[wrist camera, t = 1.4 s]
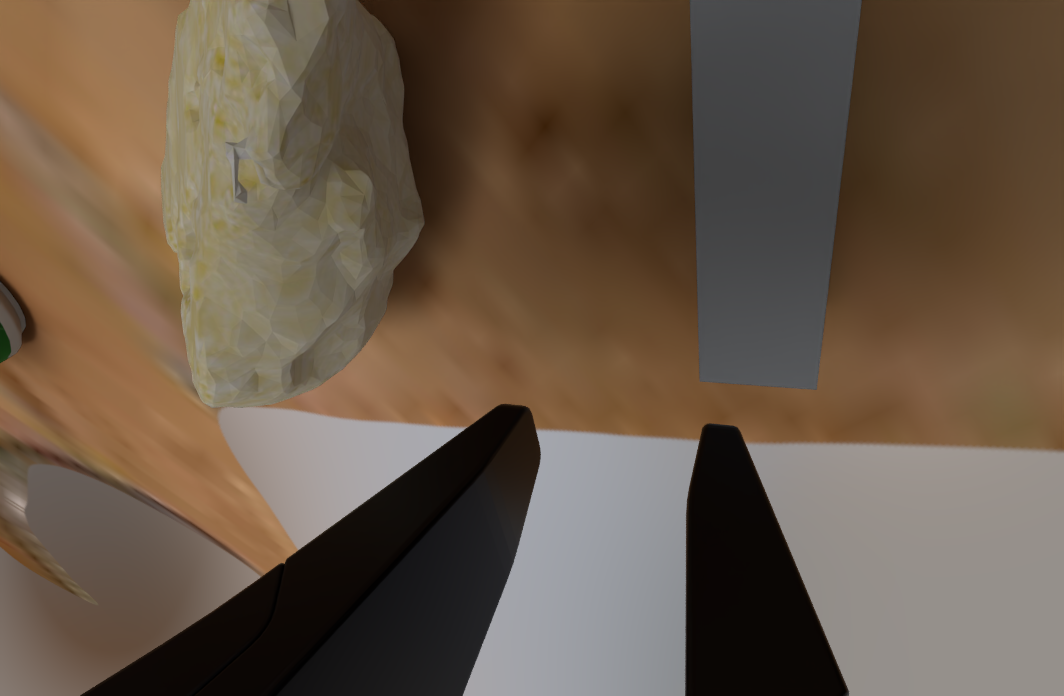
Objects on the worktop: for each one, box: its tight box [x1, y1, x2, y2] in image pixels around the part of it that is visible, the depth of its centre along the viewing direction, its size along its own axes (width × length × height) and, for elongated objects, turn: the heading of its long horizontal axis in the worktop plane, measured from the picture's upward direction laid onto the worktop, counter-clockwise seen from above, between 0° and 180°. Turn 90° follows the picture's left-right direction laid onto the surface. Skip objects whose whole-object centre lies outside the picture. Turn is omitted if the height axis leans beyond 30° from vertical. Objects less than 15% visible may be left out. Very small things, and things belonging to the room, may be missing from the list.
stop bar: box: [690, 0, 862, 390], centre depth 15 cm, size 3×11×4 cm, turn 10°
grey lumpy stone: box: [161, 0, 425, 408], centre depth 19 cm, size 15×7×15 cm
